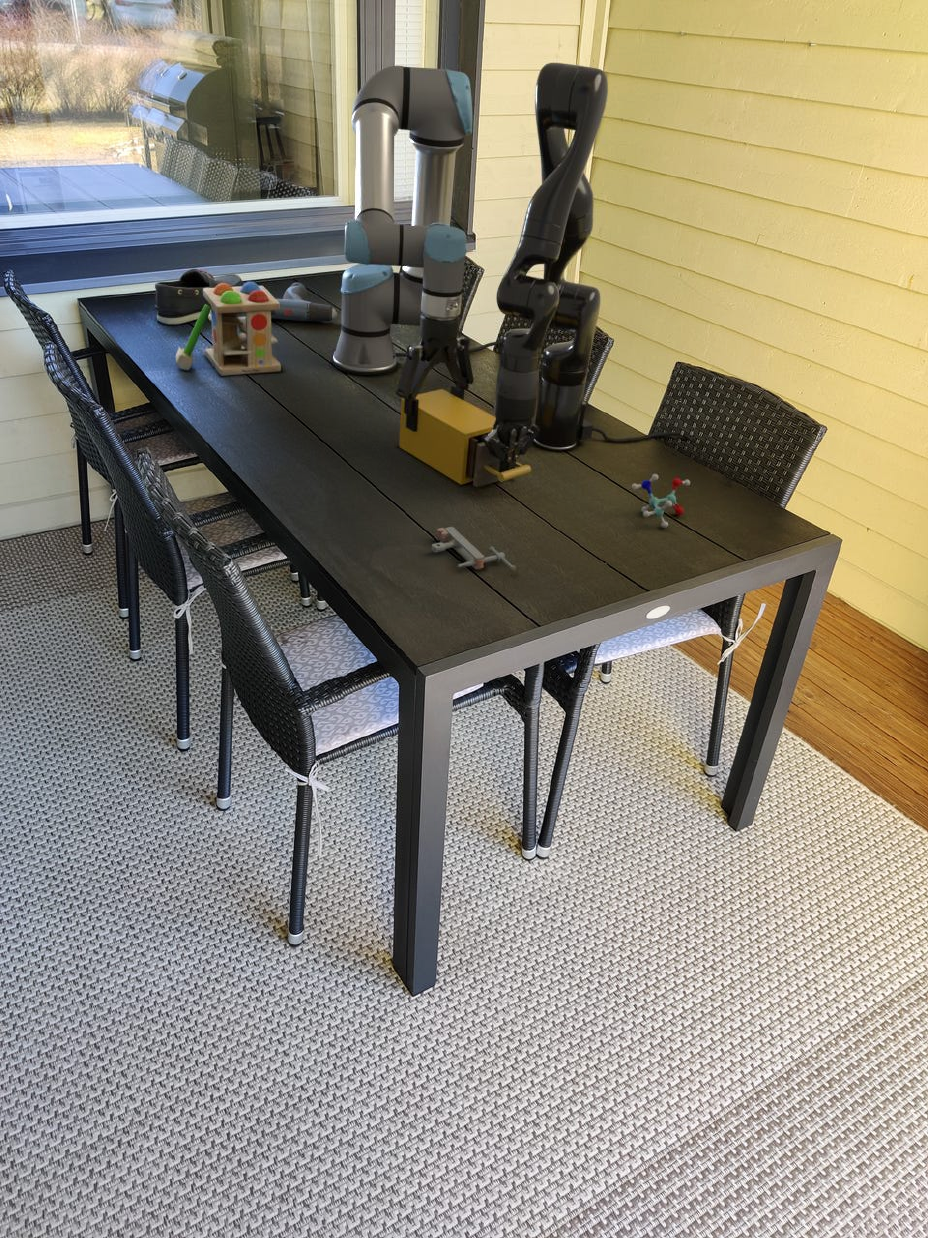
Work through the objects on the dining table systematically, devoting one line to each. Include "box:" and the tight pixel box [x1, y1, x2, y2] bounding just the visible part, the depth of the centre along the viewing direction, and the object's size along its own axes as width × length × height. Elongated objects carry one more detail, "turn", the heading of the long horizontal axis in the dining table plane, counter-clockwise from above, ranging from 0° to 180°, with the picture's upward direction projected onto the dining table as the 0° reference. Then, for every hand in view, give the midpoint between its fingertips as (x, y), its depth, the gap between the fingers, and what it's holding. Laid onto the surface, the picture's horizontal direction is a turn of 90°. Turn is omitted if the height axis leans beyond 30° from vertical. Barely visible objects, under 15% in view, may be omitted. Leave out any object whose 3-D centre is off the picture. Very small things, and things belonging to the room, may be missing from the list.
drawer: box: [466, 432, 532, 488], centre depth 190 cm, size 24×9×8 cm, turn 40°
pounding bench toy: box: [174, 281, 282, 377], centre depth 225 cm, size 23×14×18 cm, turn 116°
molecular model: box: [631, 473, 691, 529], centre depth 183 cm, size 12×10×10 cm
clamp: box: [431, 526, 517, 572], centre depth 165 cm, size 15×2×10 cm
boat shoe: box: [154, 268, 245, 325], centre depth 260 cm, size 13×33×10 cm, turn 147°
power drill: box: [271, 282, 338, 322], centre depth 265 cm, size 5×19×20 cm
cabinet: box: [398, 388, 496, 485], centre depth 195 cm, size 20×10×10 cm, turn 40°
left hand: (433, 423), depth 198 cm, fingers closed on cabinet, 10 cm apart
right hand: (506, 476), depth 186 cm, fingers closed
